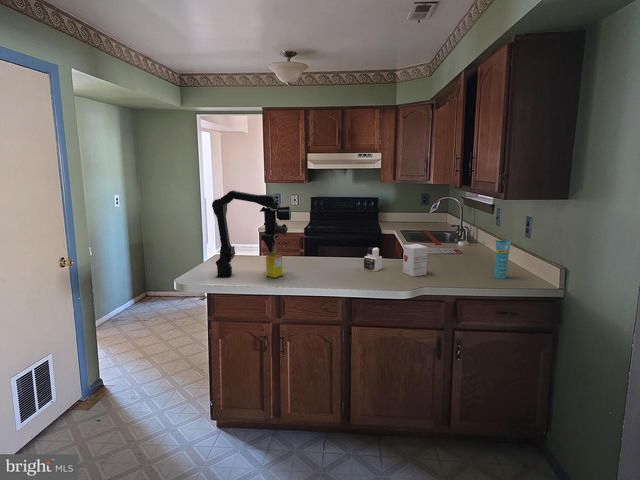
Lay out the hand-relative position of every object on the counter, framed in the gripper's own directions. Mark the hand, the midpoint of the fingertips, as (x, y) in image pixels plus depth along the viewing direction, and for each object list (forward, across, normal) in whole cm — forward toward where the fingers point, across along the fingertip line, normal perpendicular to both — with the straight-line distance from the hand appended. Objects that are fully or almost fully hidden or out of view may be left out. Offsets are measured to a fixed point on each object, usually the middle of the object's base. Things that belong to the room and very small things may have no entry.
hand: (271, 251), depth 207 cm
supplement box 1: (+14, +1, -1) cm, 14 cm away
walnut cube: (+1, 0, 0) cm, 1 cm away
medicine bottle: (+15, +18, -52) cm, 57 cm away
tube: (+16, +6, -115) cm, 116 cm away
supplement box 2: (+15, +10, -73) cm, 75 cm away
